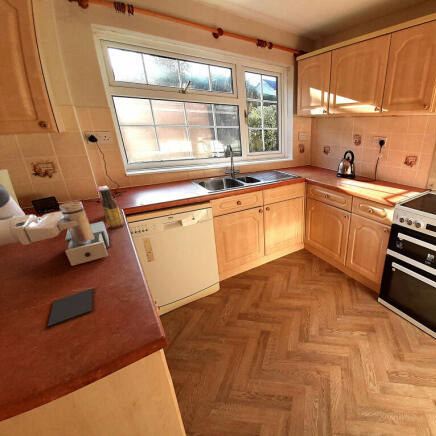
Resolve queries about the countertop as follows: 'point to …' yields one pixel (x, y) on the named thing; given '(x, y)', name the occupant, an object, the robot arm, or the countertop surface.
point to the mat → (71, 307)
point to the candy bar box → (99, 190)
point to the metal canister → (83, 230)
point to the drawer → (86, 251)
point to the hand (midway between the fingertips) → (79, 219)
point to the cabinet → (96, 229)
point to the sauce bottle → (111, 209)
